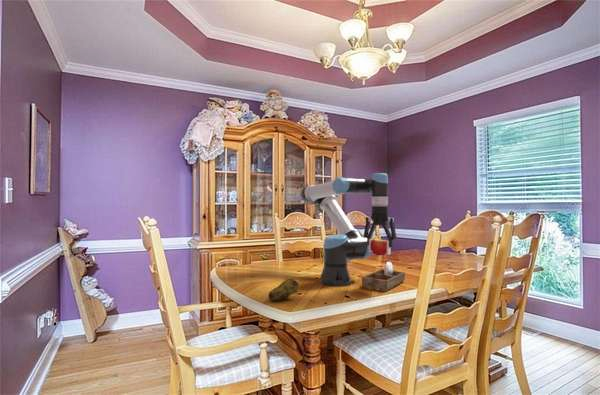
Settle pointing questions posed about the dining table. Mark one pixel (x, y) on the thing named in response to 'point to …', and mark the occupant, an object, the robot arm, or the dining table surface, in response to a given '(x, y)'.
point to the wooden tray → (382, 280)
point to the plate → (388, 269)
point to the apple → (379, 246)
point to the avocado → (284, 290)
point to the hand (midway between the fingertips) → (379, 253)
